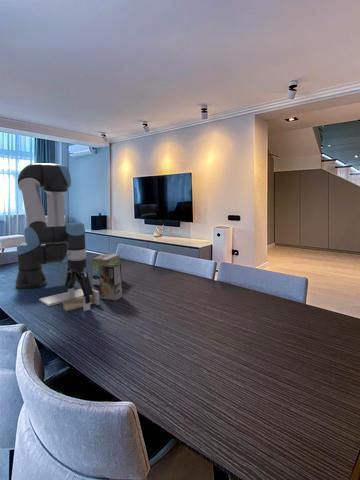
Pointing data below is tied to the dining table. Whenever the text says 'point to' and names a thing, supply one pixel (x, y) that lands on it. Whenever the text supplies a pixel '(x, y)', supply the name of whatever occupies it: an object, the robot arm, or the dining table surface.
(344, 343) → the dining table surface
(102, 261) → the tea box
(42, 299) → the cutting board
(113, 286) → the coffee box
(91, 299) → the scraper
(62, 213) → the robot arm
